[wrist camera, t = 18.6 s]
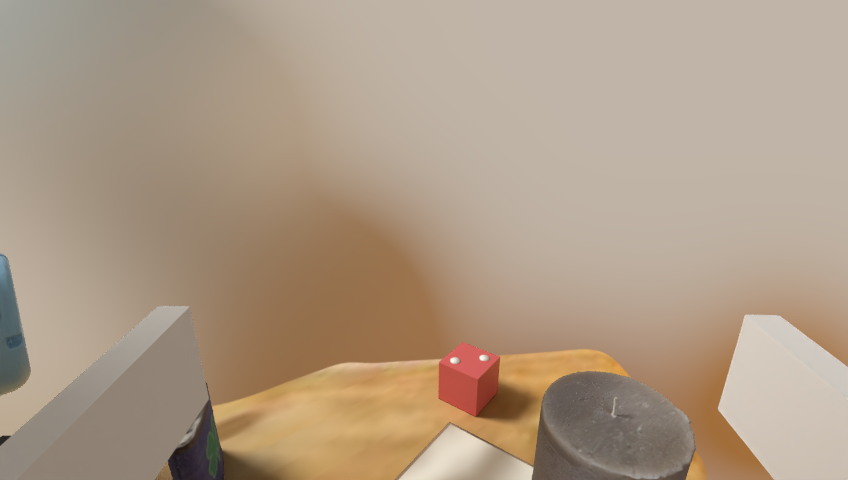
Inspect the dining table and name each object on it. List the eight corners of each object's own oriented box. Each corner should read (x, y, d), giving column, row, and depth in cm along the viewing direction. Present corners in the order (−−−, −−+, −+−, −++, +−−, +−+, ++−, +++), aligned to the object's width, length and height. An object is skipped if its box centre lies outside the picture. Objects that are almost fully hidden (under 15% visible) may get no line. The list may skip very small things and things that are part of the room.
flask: (197, 451, 47) (176, 362, 43) (228, 444, 47) (211, 357, 43) (181, 535, 38) (154, 435, 34) (219, 526, 39) (197, 427, 35)
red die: (438, 398, 54) (439, 361, 52) (461, 376, 58) (462, 341, 56) (475, 416, 51) (477, 378, 49) (497, 392, 55) (499, 356, 53)
